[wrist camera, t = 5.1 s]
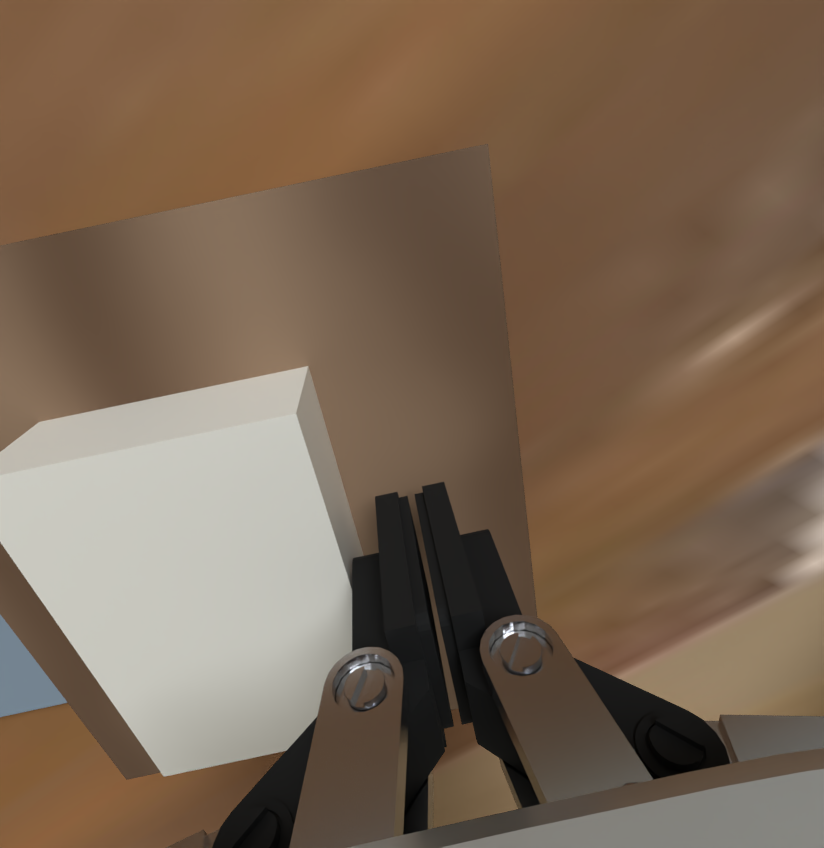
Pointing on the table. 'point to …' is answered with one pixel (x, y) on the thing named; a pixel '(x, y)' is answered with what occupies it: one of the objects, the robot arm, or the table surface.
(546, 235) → the table surface
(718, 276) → the table surface
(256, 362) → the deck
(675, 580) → the table surface
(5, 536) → the block
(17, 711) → the mat
